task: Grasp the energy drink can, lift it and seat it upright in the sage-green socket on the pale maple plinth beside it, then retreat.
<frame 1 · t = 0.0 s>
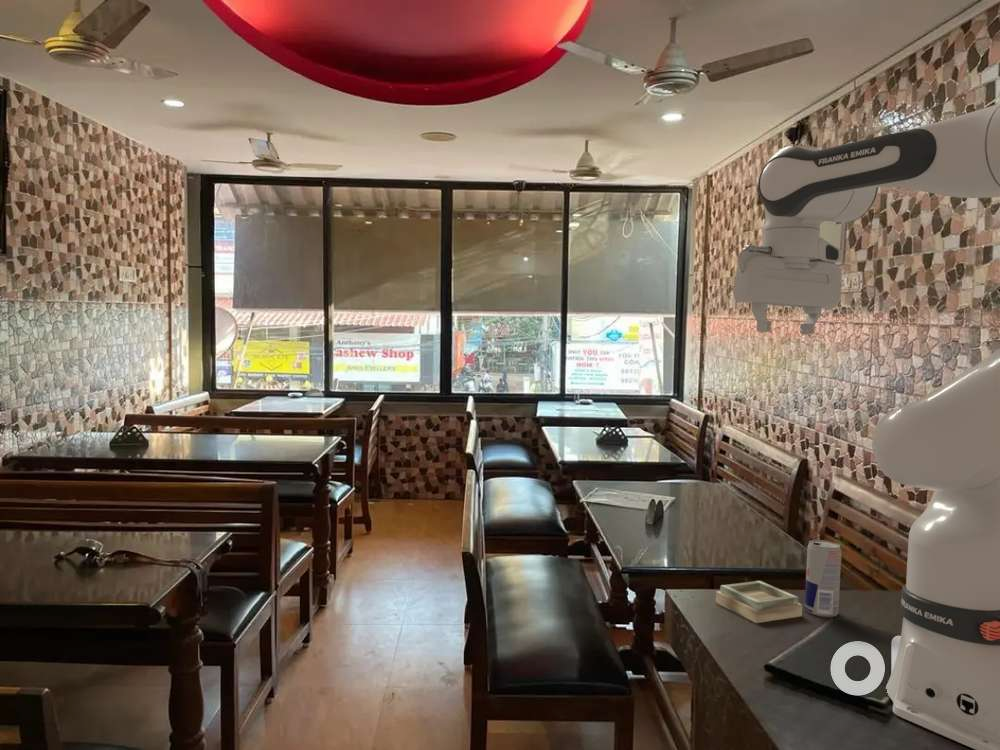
hand: (785, 333, 118), 48 cm above the table, fingers open, 8 cm apart
plinth: (757, 609, 124), on the table
energy drink: (821, 613, 124), on the table
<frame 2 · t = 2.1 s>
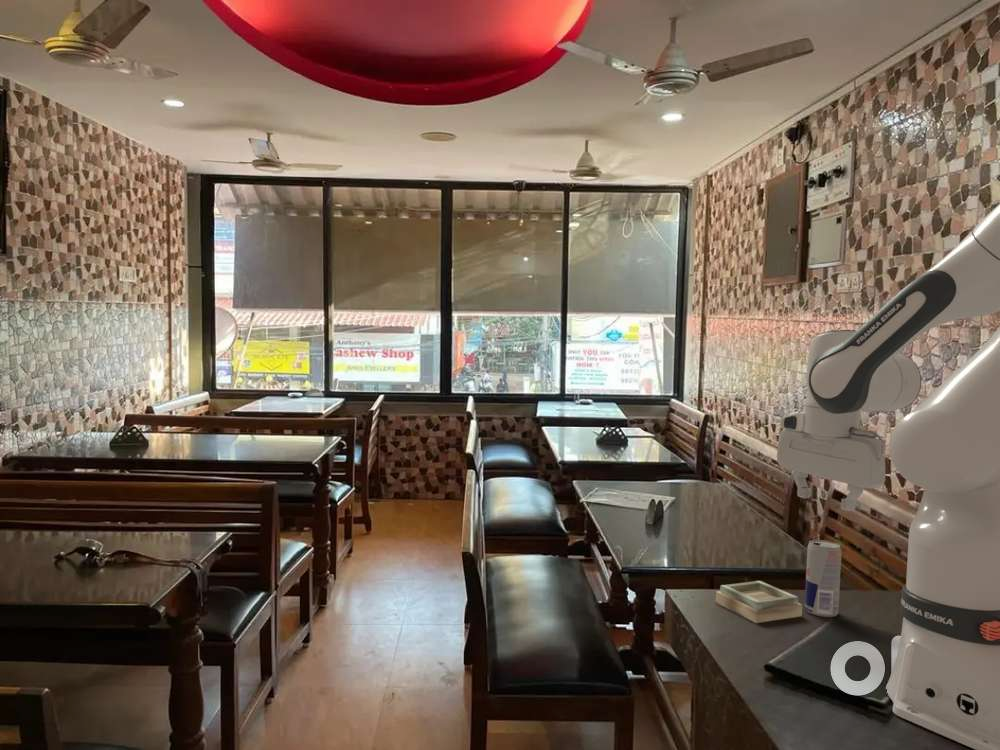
hand: (825, 503, 123), 19 cm above the table, fingers open, 8 cm apart
nothing on the table moved.
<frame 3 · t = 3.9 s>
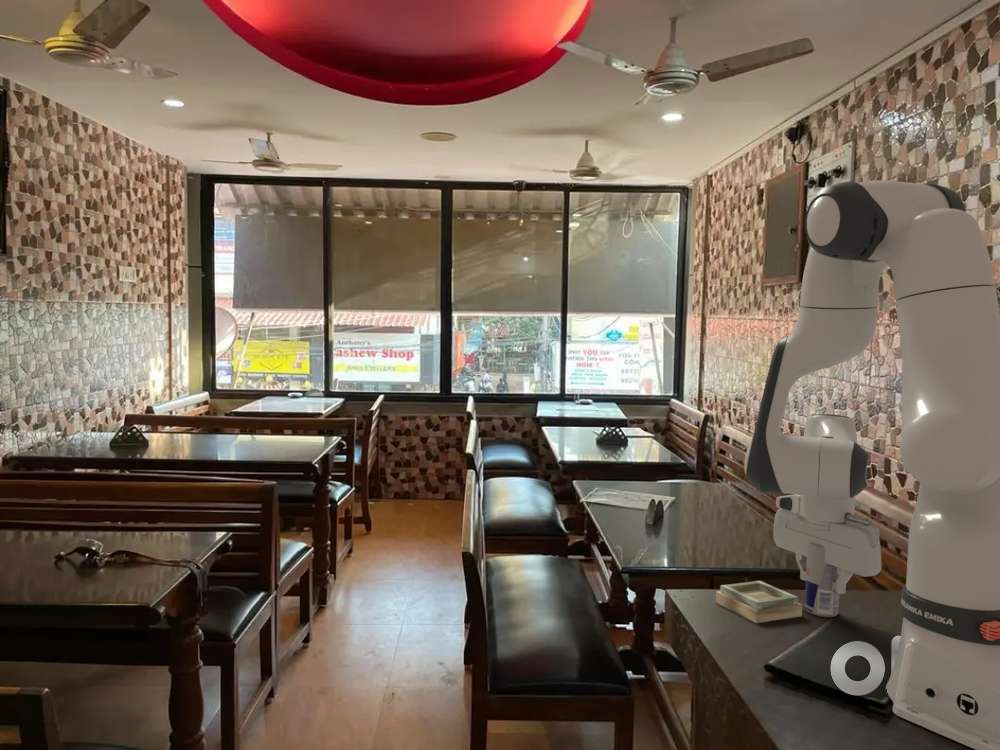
hand: (822, 586, 124), 5 cm above the table, fingers closed on energy drink, 5 cm apart
energy drink: (821, 613, 124), on the table, touching gripper
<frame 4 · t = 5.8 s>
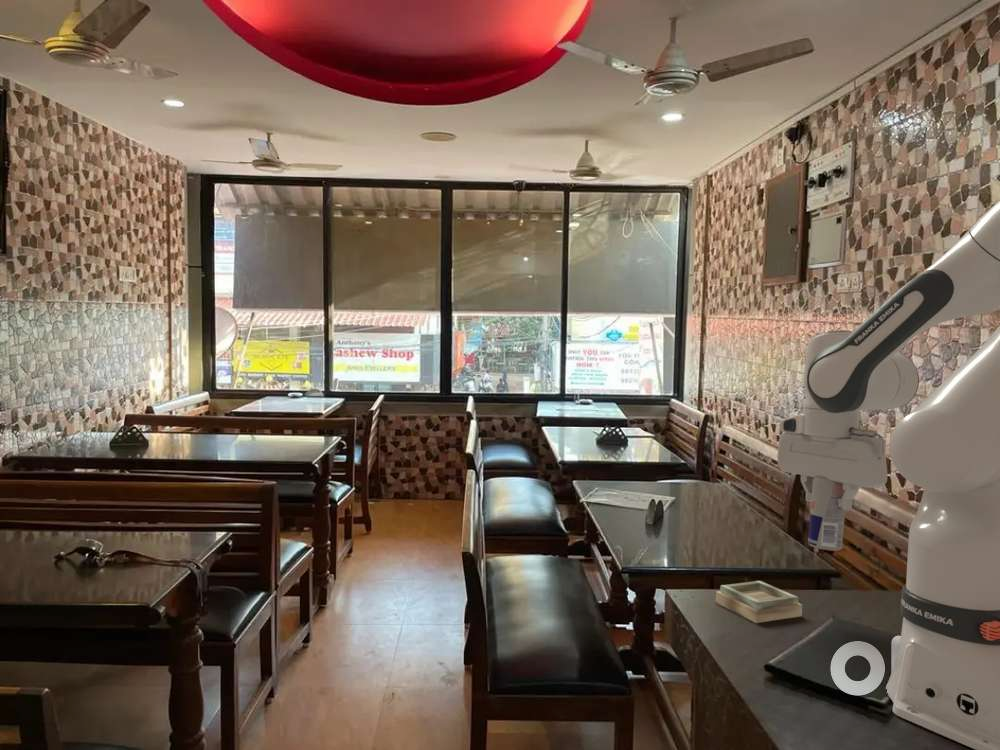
hand: (828, 505, 123), 19 cm above the table, fingers closed on energy drink, 5 cm apart
energy drink: (824, 548, 123), point 11 cm above the table, touching gripper
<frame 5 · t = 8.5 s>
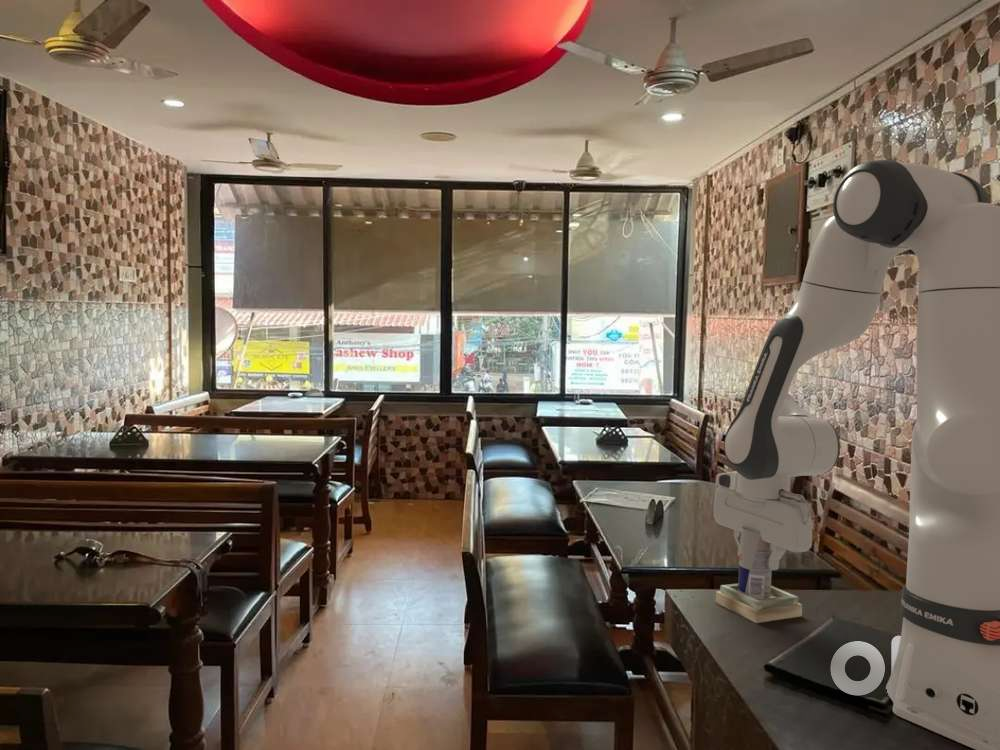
hand: (757, 562, 124), 8 cm above the table, fingers closed on energy drink, 5 cm apart
energy drink: (753, 598, 124), point 2 cm above the table, touching gripper, plinth
when the fingers open (8 cm above the table, at t = 8.9 s): energy drink stays where it is, resting on plinth.
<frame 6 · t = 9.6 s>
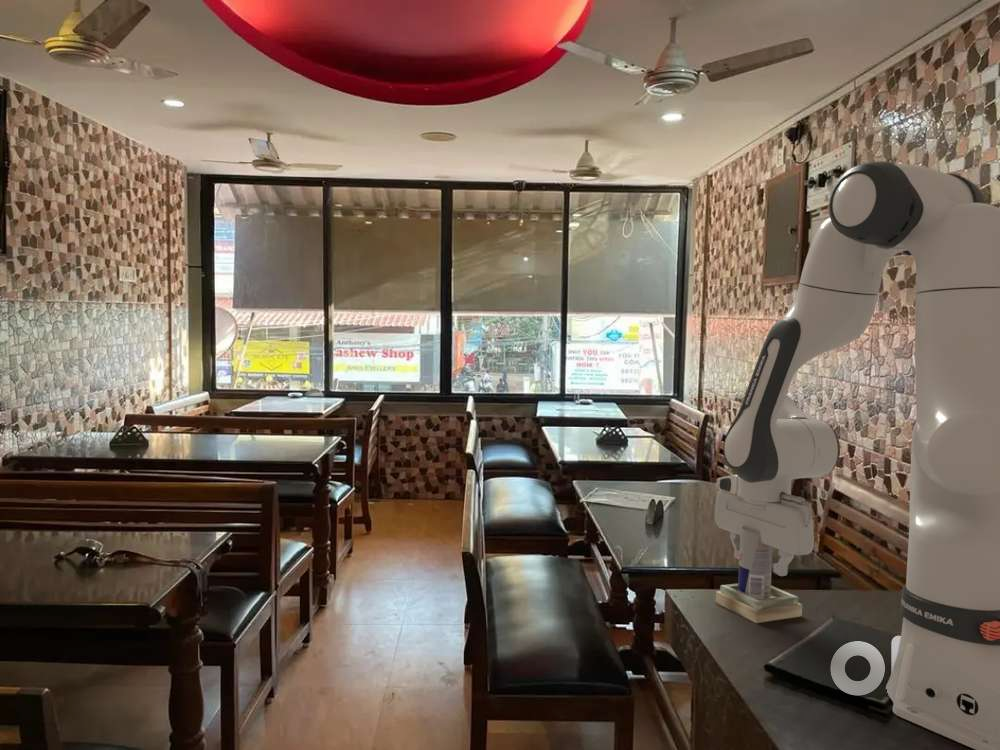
hand: (759, 566, 124), 8 cm above the table, fingers open, 8 cm apart
energy drink: (753, 598, 124), point 2 cm above the table, touching plinth
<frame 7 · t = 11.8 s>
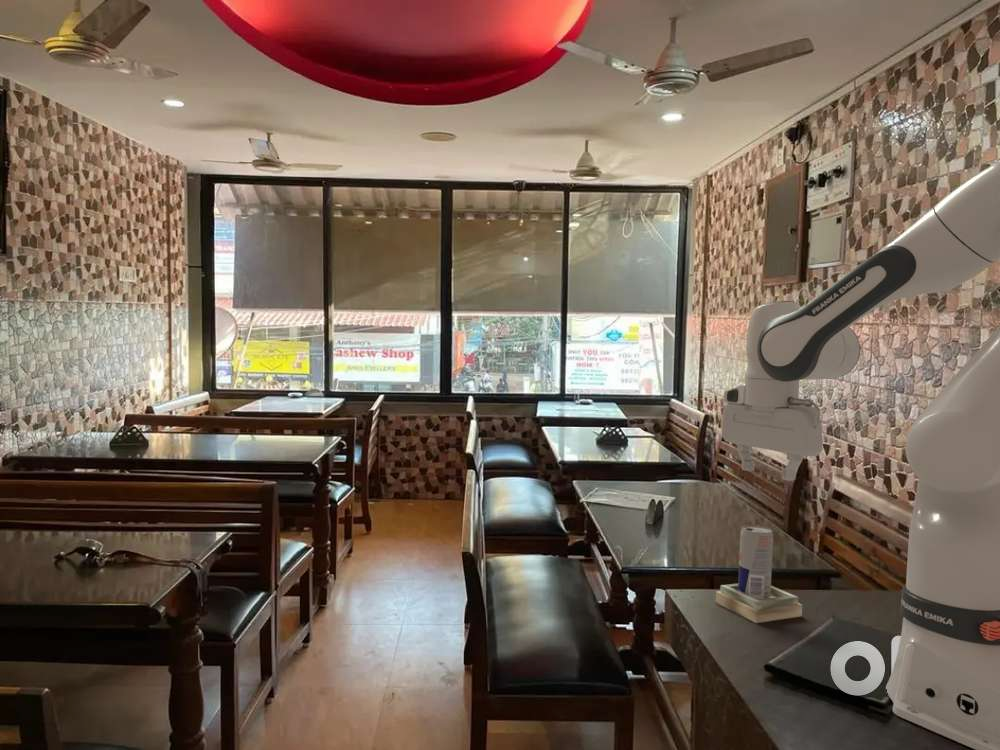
hand: (767, 475, 124), 23 cm above the table, fingers open, 8 cm apart
nothing on the table moved.
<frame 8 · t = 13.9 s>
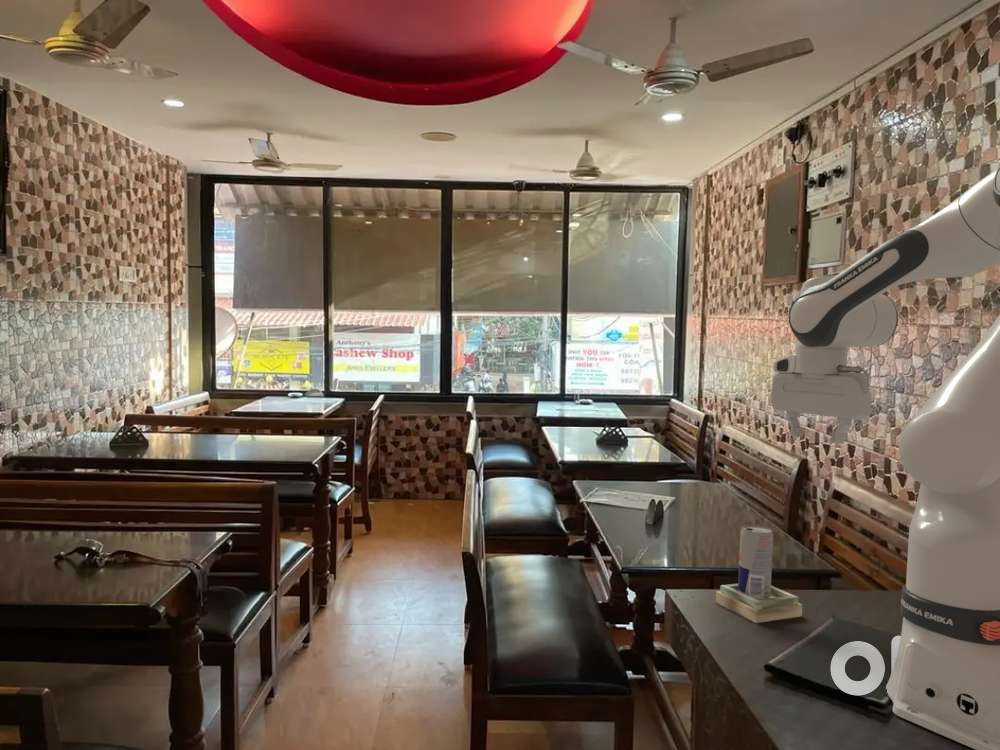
hand: (816, 439, 132), 29 cm above the table, fingers open, 8 cm apart
nothing on the table moved.
at the end: energy drink 0.7 cm off-centre on the plinth, point 1.8 cm above the plinth's base; energy drink tilted 0°; the gripper is holding nothing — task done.
